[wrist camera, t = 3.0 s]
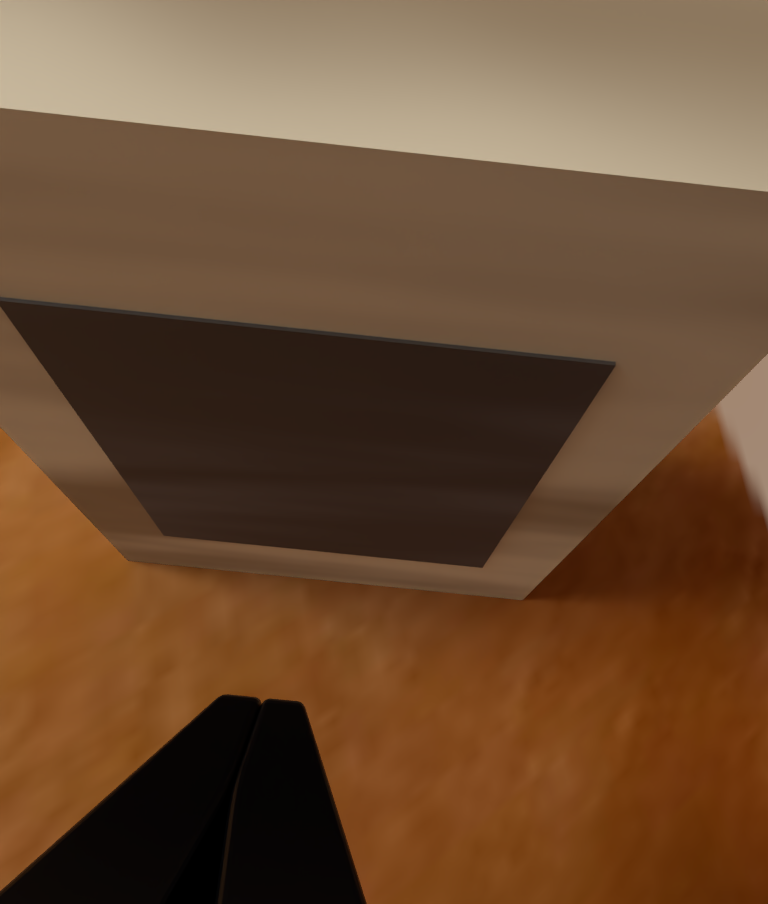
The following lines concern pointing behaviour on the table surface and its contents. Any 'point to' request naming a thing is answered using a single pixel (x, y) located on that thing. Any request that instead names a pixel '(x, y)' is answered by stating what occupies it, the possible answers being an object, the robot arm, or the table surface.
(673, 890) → the table surface
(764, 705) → the table surface
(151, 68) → the birch block
